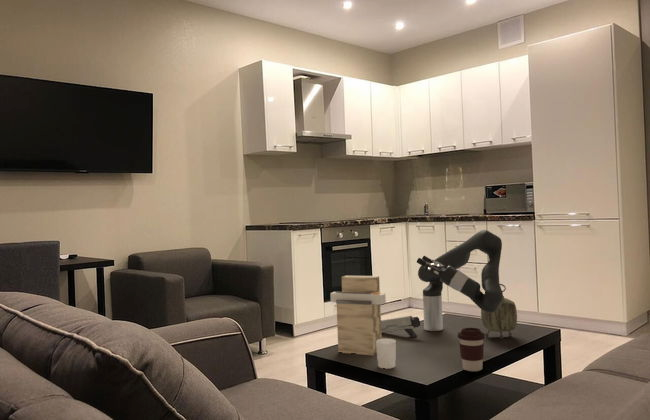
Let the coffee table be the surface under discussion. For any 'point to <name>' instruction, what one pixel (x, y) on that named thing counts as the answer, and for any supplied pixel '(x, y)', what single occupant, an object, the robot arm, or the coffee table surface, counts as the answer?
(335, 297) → the power strip
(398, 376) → the coffee table surface
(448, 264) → the robot arm
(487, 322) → the tabletop clock
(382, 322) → the gun
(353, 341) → the step shelf
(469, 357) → the coffee cup
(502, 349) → the coffee table surface
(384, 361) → the white cup
